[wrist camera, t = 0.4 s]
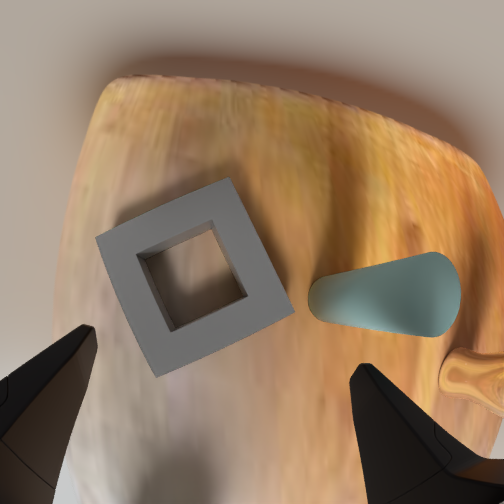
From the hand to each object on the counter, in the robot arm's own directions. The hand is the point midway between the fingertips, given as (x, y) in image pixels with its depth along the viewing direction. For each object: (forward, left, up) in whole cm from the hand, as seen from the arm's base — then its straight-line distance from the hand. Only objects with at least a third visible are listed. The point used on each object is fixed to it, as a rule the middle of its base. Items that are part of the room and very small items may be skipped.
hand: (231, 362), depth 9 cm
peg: (-2, -9, -14) cm, 17 cm away
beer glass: (-18, -20, -14) cm, 31 cm away
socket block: (+4, 0, -14) cm, 15 cm away
